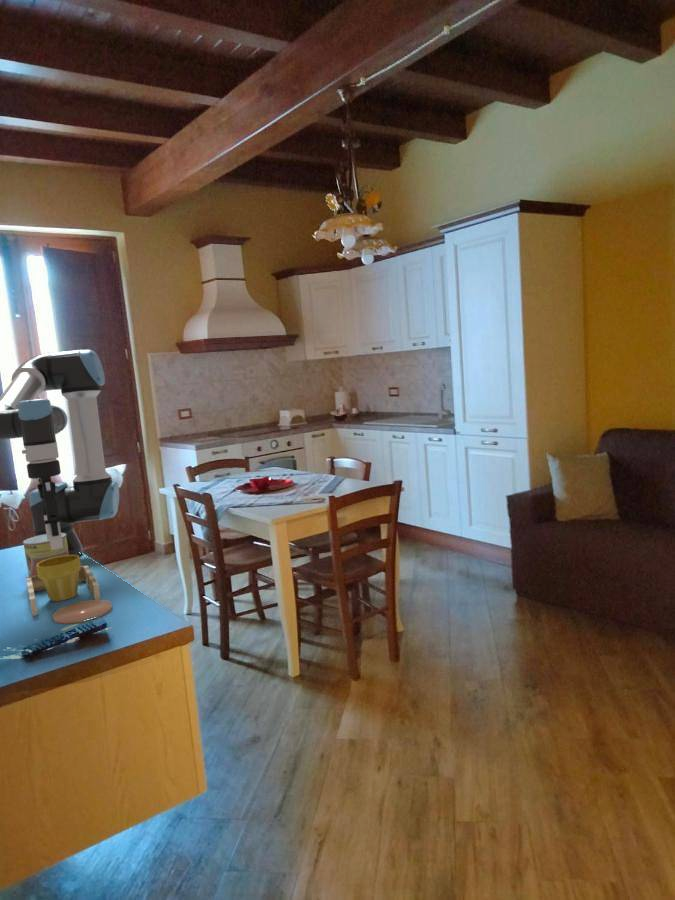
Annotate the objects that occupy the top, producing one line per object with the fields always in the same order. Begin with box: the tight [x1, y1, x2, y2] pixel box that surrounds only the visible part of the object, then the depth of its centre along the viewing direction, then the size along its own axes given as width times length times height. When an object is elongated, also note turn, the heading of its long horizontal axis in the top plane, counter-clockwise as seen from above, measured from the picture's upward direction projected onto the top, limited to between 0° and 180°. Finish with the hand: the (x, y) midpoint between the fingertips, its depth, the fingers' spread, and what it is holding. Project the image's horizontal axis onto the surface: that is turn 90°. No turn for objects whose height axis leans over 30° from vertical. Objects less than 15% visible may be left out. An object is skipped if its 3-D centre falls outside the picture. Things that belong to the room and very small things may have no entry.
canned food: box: [22, 533, 69, 577], centre depth 186 cm, size 11×11×12 cm
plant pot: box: [36, 555, 82, 602], centre depth 168 cm, size 10×10×10 cm
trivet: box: [52, 599, 113, 625], centre depth 155 cm, size 13×13×1 cm
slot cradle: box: [25, 564, 102, 617], centre depth 170 cm, size 22×16×4 cm
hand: (55, 543), depth 167 cm, fingers open, 13 cm apart
